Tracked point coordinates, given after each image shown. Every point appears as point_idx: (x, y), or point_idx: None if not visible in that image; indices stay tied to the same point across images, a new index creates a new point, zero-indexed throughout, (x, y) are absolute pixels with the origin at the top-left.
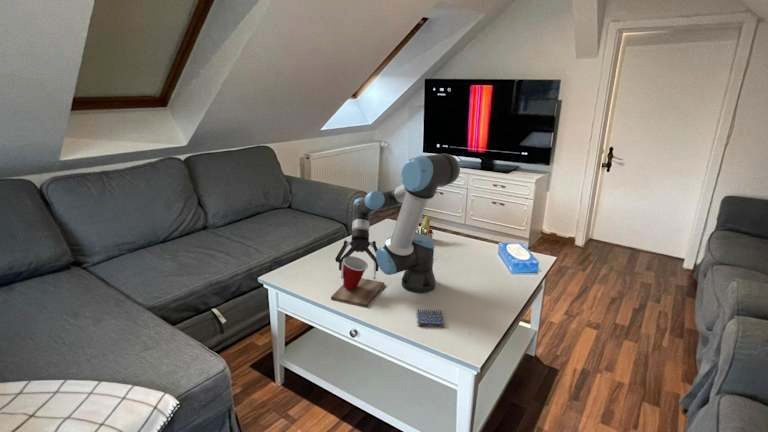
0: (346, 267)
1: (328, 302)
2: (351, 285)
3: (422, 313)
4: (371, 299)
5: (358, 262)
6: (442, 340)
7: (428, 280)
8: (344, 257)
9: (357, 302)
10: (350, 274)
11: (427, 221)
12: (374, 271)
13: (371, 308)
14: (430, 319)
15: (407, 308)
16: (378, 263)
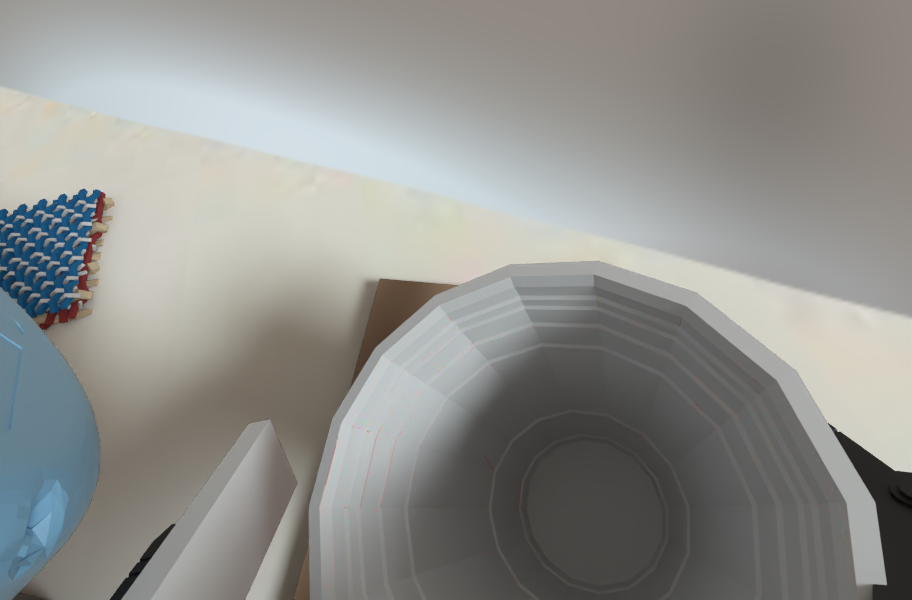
0: (637, 320)
1: (669, 271)
2: (548, 423)
3: (49, 274)
4: (360, 367)
5: None
6: (41, 148)
7: None
8: (906, 595)
9: (448, 285)
10: (553, 349)
11: None
12: (225, 474)
13: (353, 283)
14: (28, 239)
15: (131, 343)
16: (33, 434)
